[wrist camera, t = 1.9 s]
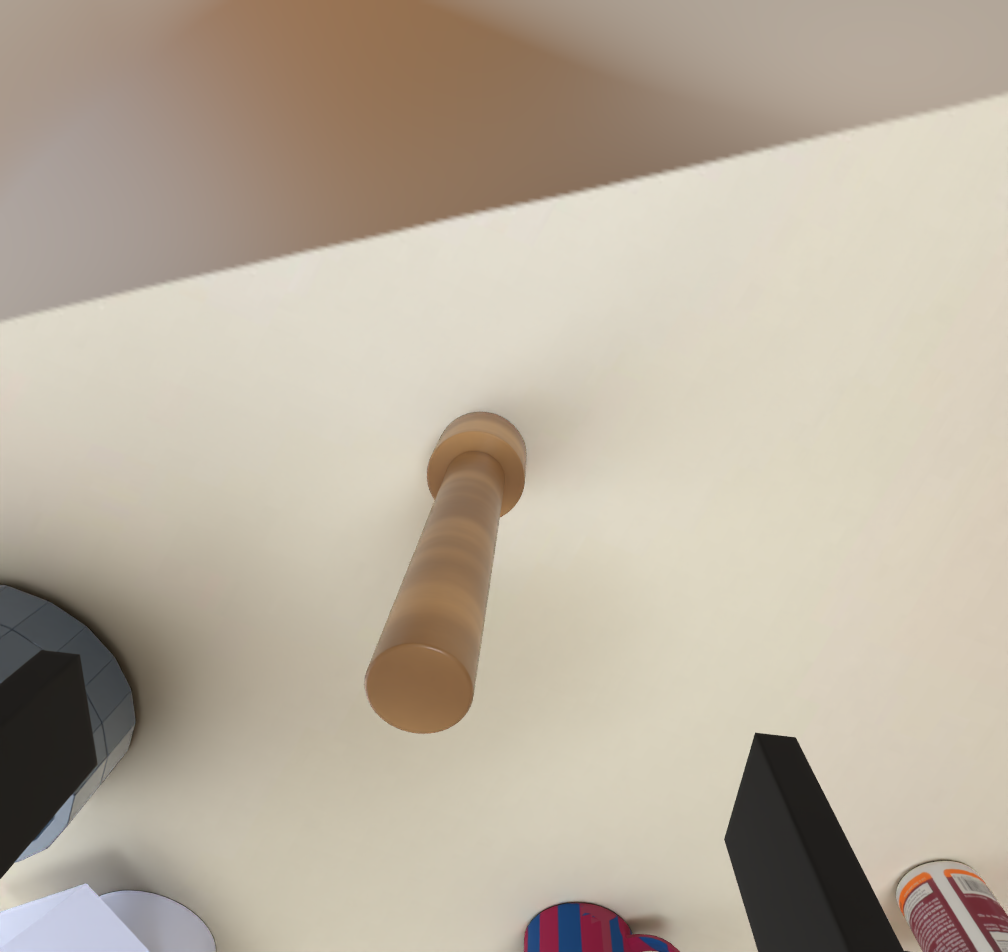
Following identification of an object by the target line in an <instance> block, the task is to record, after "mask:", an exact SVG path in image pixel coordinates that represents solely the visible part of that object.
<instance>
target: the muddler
mask: <svg viewBox="0 0 1008 952" xmlns="http://www.w3.org/2000/svg"><path fill="white" fill-rule="evenodd" d="M525 469H526V447H525V443H524V441H523V438H522V436H521V434H520V433H519V431H518V430H517V429H516V428H515V427H514V425H513V424H511V423H510V422H509V421H508V420H506V419H504V418H503V417H501V416H498V415H496V414H492V413H487V412H473V413H469V414H466V415H463V416H461V417H459V418H457V419H456V420H454V421H453V422H452V423H451V424H449V425H448V427H447V428H446V429H445V430H444V432H443V434H442V435H441V437H440V440H439V442H438V444H437V446H436V448H435V450H434V452H433V454H432V456H431V458H430V460H429V464H428V468H427V482H428V486H429V490H430V492H431V494H432V496H433V498H434V500H435V501H434V504H433V506H432V509H431V511H430V514H429V516H428V519H427V521H426V524H425V526H424V529H423V531H422V534H421V536H420V539H419V541H418V544H417V546H416V549H415V551H414V554H413V556H412V559H411V561H410V564H409V566H408V569H407V571H406V574H405V576H404V579H403V581H402V584H401V586H400V589H399V591H398V594H397V596H396V599H395V601H394V604H393V606H392V609H391V611H390V614H389V616H388V619H387V621H386V624H385V626H384V629H383V631H382V634H381V636H380V639H379V641H378V644H377V646H376V649H375V651H374V654H373V656H372V659H371V661H370V664H369V666H368V669H367V672H366V675H365V691H366V696H367V699H368V701H369V703H370V705H371V707H372V708H373V710H374V711H375V712H376V713H377V714H378V715H379V717H381V718H382V719H383V720H384V721H386V722H387V723H389V724H390V725H392V726H394V727H396V728H398V729H401V730H404V731H407V732H412V733H421V734H425V733H435V732H439V731H443V730H445V729H448V728H450V727H452V726H453V725H455V724H456V723H458V722H459V721H460V720H461V719H462V718H463V717H464V716H465V715H466V713H467V712H468V710H469V708H470V707H471V704H472V701H473V695H474V689H475V682H476V675H477V668H478V662H479V655H480V648H481V641H482V634H483V627H484V621H485V614H486V607H487V600H488V593H489V587H490V580H491V573H492V566H493V559H494V553H495V546H496V539H497V532H498V525H499V519H500V517H502V516H503V515H505V514H506V513H508V512H509V511H510V510H511V509H512V508H513V507H514V506H515V505H516V504H517V502H518V501H519V499H520V497H521V495H522V492H523V489H524V484H525Z"/></svg>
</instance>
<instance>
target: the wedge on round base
mask: <svg viewBox="0 0 1008 952" xmlns="http://www.w3.org/2000/svg"><path fill="white" fill-rule="evenodd" d="M0 952H216V947H215V942H214V939H213V936H212V934H211V932H210V931H209V929H208V928H207V926H206V925H205V924H204V922H203V921H202V920H201V919H200V918H199V917H198V916H196V915H195V914H194V913H193V912H192V911H190V910H189V909H187V908H186V907H184V906H183V905H181V904H179V903H177V902H175V901H173V900H171V899H168V898H166V897H163V896H160V895H157V894H153V893H148V892H142V891H129V890H126V891H116V892H110V893H107V894H104V895H101V896H98V895H97V894H96V893H95V892H94V891H93V890H92V889H91V887H90V886H89V885H88V884H87V883H86V884H83V885H80V886H77V887H74V888H71V889H68V890H65V891H62V892H59V893H56V894H53V895H50V896H47V897H44V898H40V899H37V900H34V901H31V902H28V903H25V904H22V905H19V906H16V907H13V908H10V909H7V910H4V911H1V912H0Z"/></svg>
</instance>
